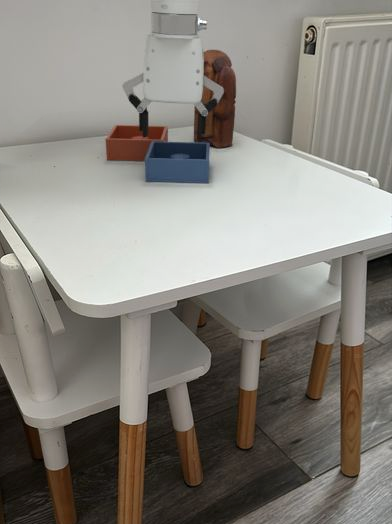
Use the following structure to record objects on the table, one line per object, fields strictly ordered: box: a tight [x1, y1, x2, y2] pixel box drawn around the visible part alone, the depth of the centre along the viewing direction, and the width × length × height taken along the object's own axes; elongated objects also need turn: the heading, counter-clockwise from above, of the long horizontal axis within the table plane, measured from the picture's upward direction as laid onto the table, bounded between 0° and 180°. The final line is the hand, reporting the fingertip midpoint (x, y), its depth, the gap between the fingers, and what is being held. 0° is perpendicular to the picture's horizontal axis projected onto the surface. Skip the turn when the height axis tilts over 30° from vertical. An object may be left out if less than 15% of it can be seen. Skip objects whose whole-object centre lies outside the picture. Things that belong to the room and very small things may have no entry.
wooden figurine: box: [193, 49, 237, 149], centre depth 118 cm, size 12×6×18 cm, turn 38°
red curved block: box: [131, 136, 149, 139], centre depth 114 cm, size 8×4×2 cm, turn 178°
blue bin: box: [144, 141, 211, 184], centre depth 103 cm, size 11×12×4 cm
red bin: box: [105, 124, 169, 162], centre depth 114 cm, size 11×12×4 cm
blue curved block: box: [170, 154, 190, 159], centre depth 103 cm, size 8×4×2 cm, turn 178°
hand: (172, 136), depth 99 cm, fingers open, 9 cm apart
